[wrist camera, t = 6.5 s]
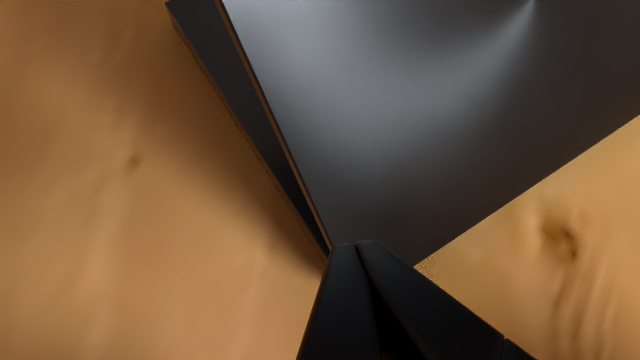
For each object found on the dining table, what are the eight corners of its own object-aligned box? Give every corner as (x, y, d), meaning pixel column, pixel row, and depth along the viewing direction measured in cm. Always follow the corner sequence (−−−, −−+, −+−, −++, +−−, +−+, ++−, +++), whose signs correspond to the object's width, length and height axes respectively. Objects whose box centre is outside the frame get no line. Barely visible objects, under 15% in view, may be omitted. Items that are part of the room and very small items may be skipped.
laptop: (172, 24, 26) (163, 1, 24) (473, -123, 30) (485, -152, 28) (344, 295, 22) (348, 293, 20) (662, 85, 26) (689, 67, 24)
